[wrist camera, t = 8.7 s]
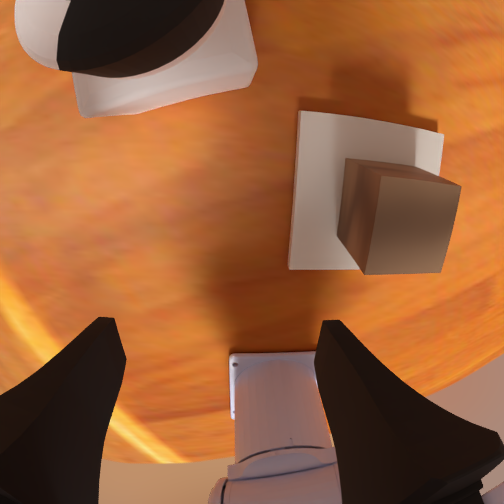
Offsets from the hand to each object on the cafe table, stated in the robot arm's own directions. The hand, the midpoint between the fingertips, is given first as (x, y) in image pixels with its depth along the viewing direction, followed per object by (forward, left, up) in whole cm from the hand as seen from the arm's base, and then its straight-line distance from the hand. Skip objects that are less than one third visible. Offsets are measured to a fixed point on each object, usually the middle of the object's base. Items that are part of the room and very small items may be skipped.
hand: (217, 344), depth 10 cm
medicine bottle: (+12, +3, -11) cm, 16 cm away
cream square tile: (+3, -9, -10) cm, 14 cm away
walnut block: (+3, -10, -10) cm, 14 cm away
